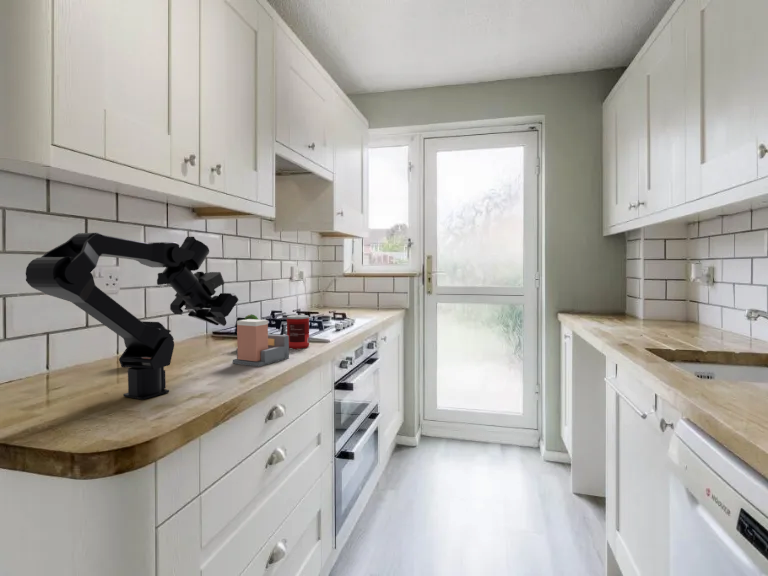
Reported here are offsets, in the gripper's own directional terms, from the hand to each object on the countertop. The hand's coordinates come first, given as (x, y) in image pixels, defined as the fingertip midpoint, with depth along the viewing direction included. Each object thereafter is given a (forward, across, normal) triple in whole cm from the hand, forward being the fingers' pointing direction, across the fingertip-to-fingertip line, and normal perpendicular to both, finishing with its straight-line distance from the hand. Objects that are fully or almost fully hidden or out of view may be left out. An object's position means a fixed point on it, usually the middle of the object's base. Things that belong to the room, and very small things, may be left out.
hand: (221, 324), depth 115 cm
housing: (+20, 0, -2) cm, 20 cm away
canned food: (+36, +4, -18) cm, 41 cm away
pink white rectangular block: (+16, 0, 0) cm, 16 cm away
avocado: (+29, +16, -11) cm, 35 cm away
